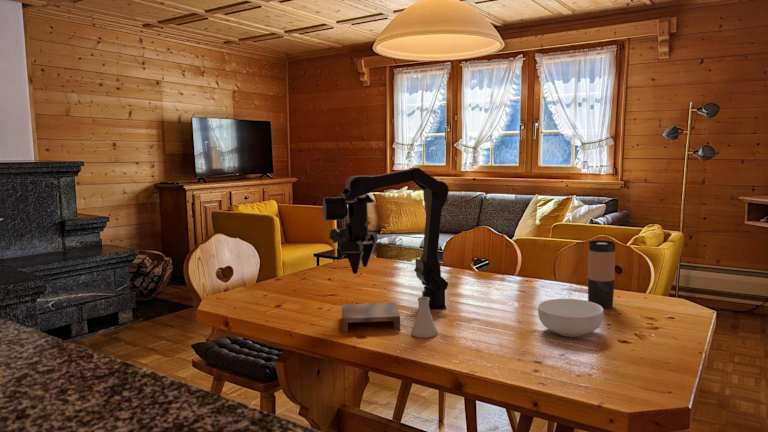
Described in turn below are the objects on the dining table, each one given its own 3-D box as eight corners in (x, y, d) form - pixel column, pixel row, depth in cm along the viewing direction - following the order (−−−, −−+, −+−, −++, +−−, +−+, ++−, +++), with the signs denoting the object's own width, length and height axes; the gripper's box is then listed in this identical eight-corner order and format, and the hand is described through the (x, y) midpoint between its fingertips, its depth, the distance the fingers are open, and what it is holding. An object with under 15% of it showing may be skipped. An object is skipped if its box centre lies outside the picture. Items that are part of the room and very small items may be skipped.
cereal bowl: (531, 322, 162) (531, 298, 161) (590, 322, 162) (591, 297, 161) (546, 343, 145) (546, 316, 144) (612, 342, 145) (613, 315, 144)
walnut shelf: (395, 315, 171) (395, 302, 171) (400, 330, 157) (400, 316, 157) (342, 317, 170) (341, 304, 169) (342, 332, 156) (341, 318, 156)
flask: (429, 340, 149) (429, 303, 147) (405, 336, 153) (405, 299, 151) (442, 332, 155) (441, 296, 154) (418, 328, 159) (418, 293, 157)
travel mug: (617, 305, 178) (619, 241, 175) (607, 310, 172) (609, 245, 170) (593, 301, 183) (595, 239, 180) (583, 306, 177) (584, 242, 175)
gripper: (343, 214, 180) (345, 262, 182) (320, 222, 162) (323, 276, 164) (377, 214, 177) (378, 263, 179) (358, 223, 159) (360, 277, 161)
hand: (360, 270), depth 171 cm, fingers open, 9 cm apart
